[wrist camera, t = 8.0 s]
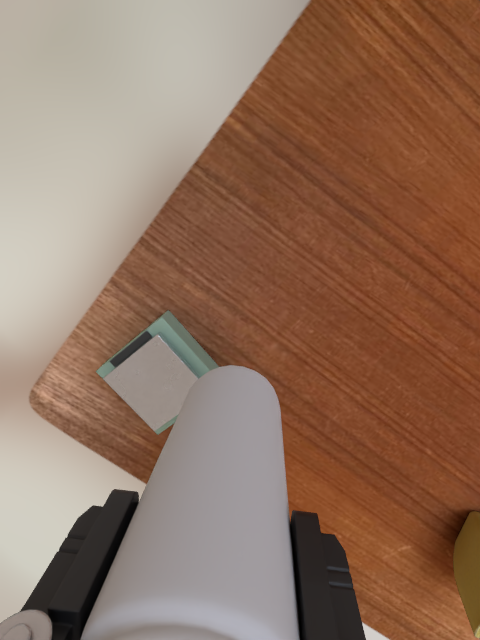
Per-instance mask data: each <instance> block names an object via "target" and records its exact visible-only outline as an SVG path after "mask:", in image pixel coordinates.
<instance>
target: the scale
mask: <svg viewBox="0 0 480 640" xmlns="http://www.w3.org/2000/svg"><path fill="white" fill-rule="evenodd" d="M158 332H161V334H162V335H163V336H164V337H165V338H166V339H167V340H168V341H169V342H170V343H171V345H172V346H173V347H174V348H175V349H176V350H177V351H178V352H179V353H180V354H181V356H182V357H183V358H184V359H185V360H186V361H187V362H188V363H189V364H190V365H191V367H192V368H193V369H194V370H195V371H196V372H197V373H198V374H199V375H200V376H201V377H202V376H203V375H204V374H206V373H207V372H209V371H211V370H213V369H215V368H218V367H219V366H218V365H217V364H216V363H215V362H214V360H213V359H212V358H211V357H210V356H209V355H208V354H207V353H206V351H205V350H204V349H203V348H202V347H201V346H200V345H199V344H198V342H197V341H196V340H195V339H194V338H193V337H192V336H191V335H190V334H189V332H188V331H187V330H186V329H185V328H184V327H183V326H182V325H181V323H180V322H179V321H178V320H177V319H176V318H175V317H174V316H173V314H172V313H171V312H170V311H169V310H167V311H166V312H165V313H164V314H163V315H161V316H160V317H159V318H158V319H157V320H155V321H154V322H153V323H152V324H151V325H149V326H148V327H147V328H146V329H145V330H143V331H142V332H141V333H140V334H139V335H137V336H136V337H135V338H134V339H132V340H131V341H130V342H129V343H128V344H126V345H125V346H124V347H123V348H122V349H120V350H119V351H118V352H117V353H116V354H114V355H113V356H112V357H111V358H110V359H108V360H107V361H106V362H105V363H104V364H103V365H102V366H101V367H100V368H99V369H98V370H97V371H96V372H97V373H98V374H99V375H100V376H101V377H102V378H104V377H105V376H106V375H107V374H108V373H109V372H111V371H112V370H113V369H114V368H116V367H117V366H118V365H119V364H120V363H122V362H123V361H124V360H125V359H127V358H128V357H129V356H130V355H131V354H133V353H134V352H135V351H136V350H138V349H139V348H140V347H141V346H143V345H144V344H145V343H146V342H147V341H149V340H150V339H151V338H152V337H154V336H155V335H156V334H157V333H158ZM103 380H104V379H103ZM104 381H105V380H104ZM105 382H106V381H105ZM106 383H107V382H106ZM107 384H108V383H107ZM108 385H109V384H108ZM177 417H178V415H176V416H175V417H174V418H172V419H171V420H170V421H168V422H167V423H165V424H164V425H163V426H161V427H160V428H159V429H157V430H156V431H155V432H156V434H157V435H158V434H160V433H161V432H163V431H164V430H165V429H167V428H168V427H169V426H171V425H172V424H174V423H175V421H176V419H177Z"/></svg>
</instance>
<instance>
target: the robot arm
mask: <svg viewBox="0 0 480 640" xmlns="http://www.w3.org/2000/svg"><path fill="white" fill-rule="evenodd" d="M138 504H139V495H138V492H134V491H126V490H117V489H114V490H113V491H112V492H111V494H110V495H109V497H108V499H107V501H106V503H105V504H104V506H103V507H101V506H92V507H91V508H89V509H88V510H87V511H86V512H85V513H84V514H82V515H81V516H80V517H79V518H78V519H77V521H76V522H75V524H74V525H73V527H72V529H71V530H70V532H69V534H68V537H67V538H65V540H64V542H63V543H62V545H61V547H60V549H59V552H57V553H56V555H55V556H54V558H53V560H52V561H51V563H50V564H49V566H48V568H47V569H46V571H45V573H44V574H43V576H42V578H41V579H40V581H39V582H38V584H37V586H36V588H35V589H34V591H33V592H32V594H31V595H30V597H29V599H28V600H27V602H26V604H25V605H24V607H23V608H22V609H21V611H20V612H18V613H16V614H14V615H12V616H10V617H9V618H7V619H6V620H4V621H3V622H2V623H0V640H80V639H81V636H82V633H83V631H84V628H85V625H86V623H87V620H88V618H89V616H90V614H91V611H92V609H93V607H94V604H95V602H96V600H97V598H98V595H99V593H100V591H101V588H102V586H103V584H104V581H105V579H106V577H107V575H108V572H109V570H110V568H111V565H112V563H113V561H114V559H115V556H116V554H117V552H118V549H119V547H120V545H121V542H122V540H123V538H124V536H125V533H126V531H127V529H128V526H129V524H130V522H131V520H132V517H133V515H134V513H135V510H136V508H137V506H138ZM290 528H291V538H292V549H293V559H294V570H295V581H296V593H297V604H298V616H299V628H300V640H366V638H365V634H364V630H363V626H362V621H361V617H360V613H359V609H358V604H357V600H356V596H355V592H354V589H353V583H352V579H351V575H350V573H349V566H348V562H347V558H346V553H345V550H344V549H343V547H342V546H341V544H340V543H339V541H338V540H337V538H336V537H335V535H332V534H324V533H321V531H320V525H319V520H318V515H317V513H311V512H302V511H294V510H293V511H292V516H291V522H290Z"/></svg>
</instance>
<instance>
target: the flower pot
mask: <svg viewBox="0 0 480 640" xmlns="http://www.w3.org/2000/svg"><path fill="white" fill-rule="evenodd" d="M453 569H454V576H455V581H456V585H457V588H458V591H459V594H460V597H461V600H462V603H463V605H464V608H465V611H466V614H467V617H468V619H469V622H470V625H471V628H472V630H473V633H474V636H475V637H477V638H480V512H476V511H472V512H470V513H469V515H468V517H467V519H466V521H465V523H464V525H463V527H462V529H461V531H460V533H459V535H458V537H457V539H456V541H455V546H454V554H453Z"/></svg>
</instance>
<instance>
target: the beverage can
mask: <svg viewBox="0 0 480 640" xmlns="http://www.w3.org/2000/svg"><path fill="white" fill-rule="evenodd" d="M80 640H300V628H299V616H298V604H297V593H296V581H295V570H294V559H293V549H292V538H291V528H290V517H289V507H288V497H287V486H286V474H285V462H284V450H283V437H282V424H281V411H280V406H279V401H278V397H277V395H276V393H275V390H274V388H273V387H272V385H271V384H270V383H269V382H268V380H267V379H266V378H265V377H263V376H262V375H260V374H259V373H258V372H256V371H254V370H251V369H249V368H246V367H243V366H233V365H229V366H223V367H218V368H215V369H213V370H211V371H209V372H207V373H206V374H204V375H203V376H202V377H200V378H199V379H198V380H197V381H196V382H195V383H194V384H193V386H192V387H191V388H190V389H189V392H188V394H187V396H186V398H185V401H184V403H183V405H182V407H181V410H180V412H179V414H178V417H177V419H176V421H175V424H174V426H173V428H172V430H171V432H170V434H169V437H168V439H167V441H166V443H165V445H164V447H163V450H162V452H161V454H160V456H159V458H158V461H157V463H156V465H155V467H154V470H153V472H152V474H151V476H150V479H149V481H148V483H147V485H146V488H145V490H144V492H143V494H142V497H141V499H140V501H139V504H138V506H137V508H136V510H135V513H134V515H133V517H132V520H131V522H130V524H129V526H128V529H127V531H126V533H125V536H124V538H123V540H122V542H121V545H120V547H119V549H118V552H117V554H116V556H115V559H114V561H113V563H112V565H111V568H110V570H109V572H108V575H107V577H106V579H105V581H104V584H103V586H102V588H101V591H100V593H99V595H98V598H97V600H96V602H95V604H94V607H93V609H92V611H91V614H90V616H89V618H88V620H87V623H86V625H85V628H84V631H83V633H82V636H81V639H80Z"/></svg>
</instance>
